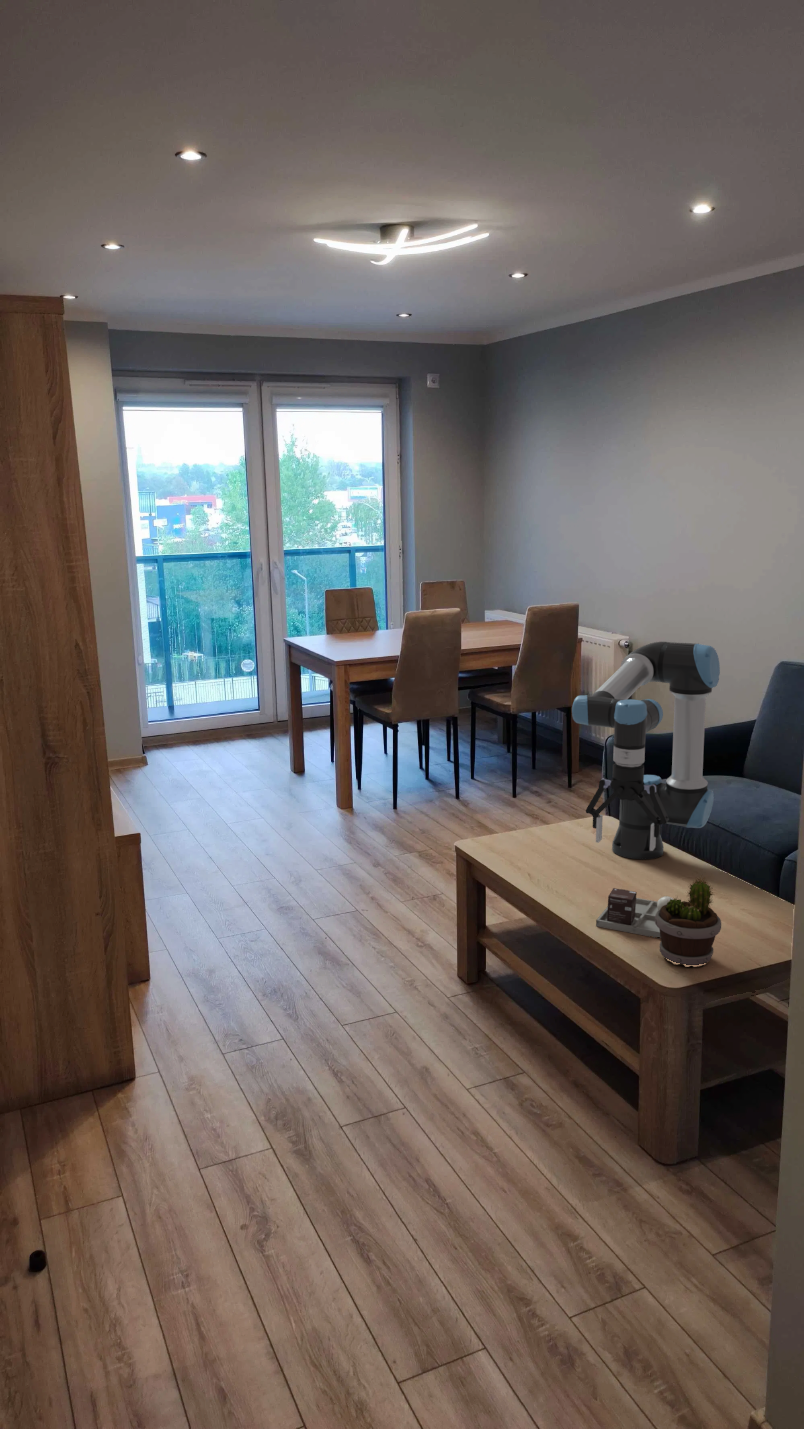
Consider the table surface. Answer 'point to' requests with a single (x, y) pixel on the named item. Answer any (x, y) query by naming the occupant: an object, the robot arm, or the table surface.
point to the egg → (663, 901)
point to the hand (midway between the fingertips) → (625, 844)
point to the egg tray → (636, 920)
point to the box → (621, 906)
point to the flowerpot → (689, 926)
